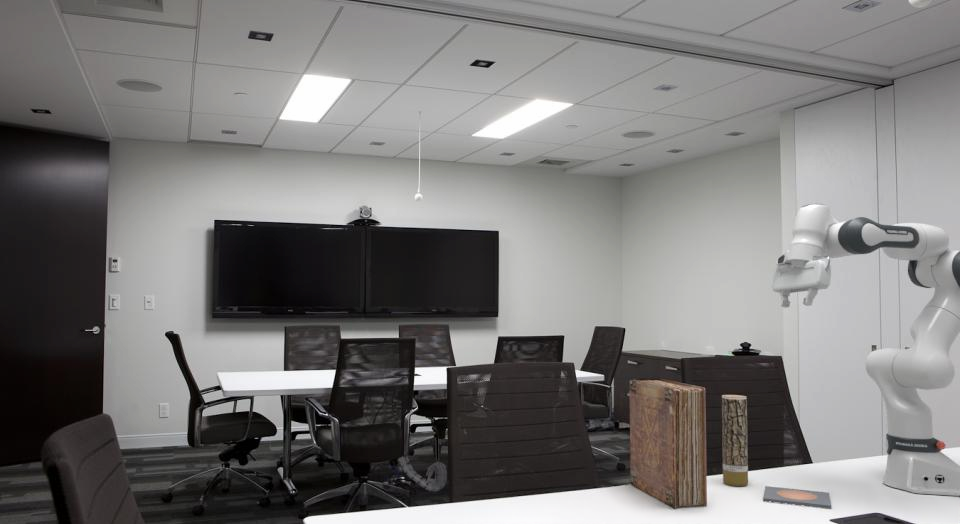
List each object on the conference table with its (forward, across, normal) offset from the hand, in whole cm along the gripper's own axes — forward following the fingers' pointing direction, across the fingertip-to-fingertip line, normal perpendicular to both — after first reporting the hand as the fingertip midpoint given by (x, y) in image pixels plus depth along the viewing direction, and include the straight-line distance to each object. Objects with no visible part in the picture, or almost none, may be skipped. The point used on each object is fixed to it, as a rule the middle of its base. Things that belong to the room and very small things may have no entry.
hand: (795, 306), depth 194 cm
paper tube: (+52, +16, -3) cm, 54 cm away
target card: (+50, -1, -10) cm, 51 cm away
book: (+59, +9, +21) cm, 63 cm away
